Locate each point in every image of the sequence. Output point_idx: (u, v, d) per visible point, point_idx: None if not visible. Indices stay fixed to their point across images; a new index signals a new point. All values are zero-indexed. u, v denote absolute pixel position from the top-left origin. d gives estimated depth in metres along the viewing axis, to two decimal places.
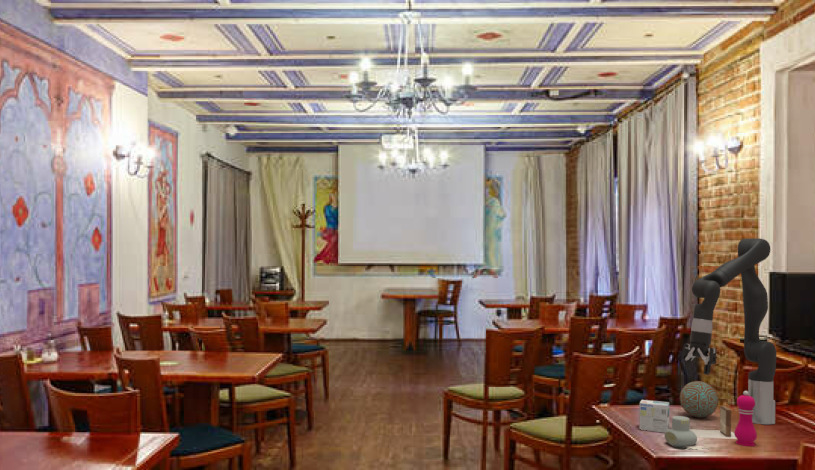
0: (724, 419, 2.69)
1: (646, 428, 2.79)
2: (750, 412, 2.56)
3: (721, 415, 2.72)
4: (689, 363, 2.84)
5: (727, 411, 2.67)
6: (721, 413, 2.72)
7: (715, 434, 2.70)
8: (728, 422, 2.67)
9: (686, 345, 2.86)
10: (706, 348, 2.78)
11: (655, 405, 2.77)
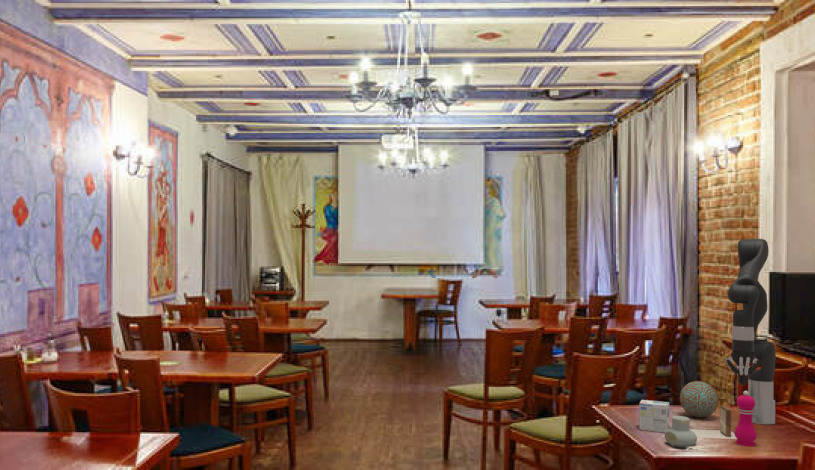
0: (724, 419, 2.69)
1: (646, 428, 2.79)
2: (750, 412, 2.56)
3: (721, 415, 2.72)
4: None
5: (727, 411, 2.67)
6: (721, 413, 2.72)
7: (715, 434, 2.70)
8: (728, 422, 2.67)
9: (729, 360, 2.70)
10: (754, 357, 2.69)
11: (655, 405, 2.77)
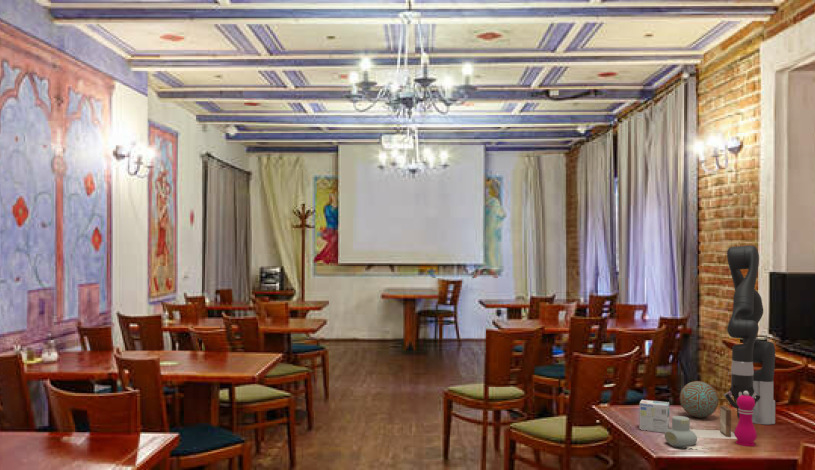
0: (724, 419, 2.69)
1: (646, 428, 2.79)
2: (750, 412, 2.56)
3: (721, 415, 2.72)
4: None
5: (727, 411, 2.67)
6: (721, 413, 2.72)
7: (715, 434, 2.70)
8: (728, 422, 2.67)
9: (728, 395, 2.69)
10: (753, 392, 2.69)
11: (655, 405, 2.77)
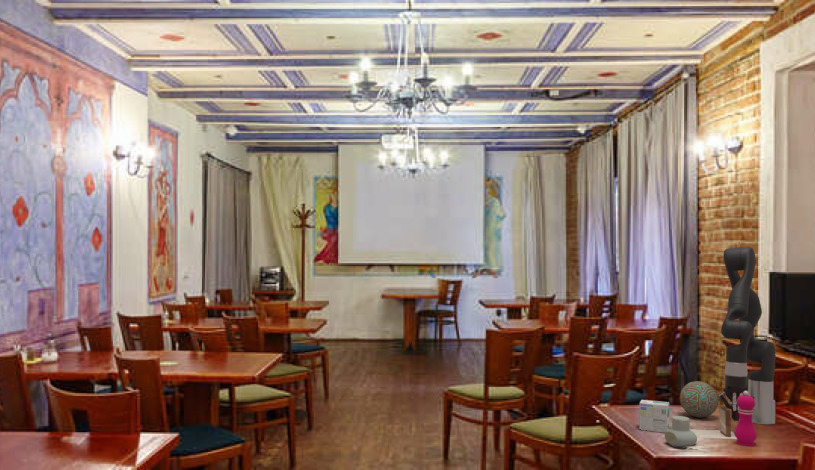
0: (723, 420, 2.69)
1: (646, 428, 2.79)
2: (750, 412, 2.56)
3: (721, 415, 2.72)
4: None
5: (726, 411, 2.67)
6: (721, 413, 2.72)
7: (715, 434, 2.70)
8: (728, 422, 2.67)
9: (722, 396, 2.69)
10: None
11: (655, 405, 2.77)
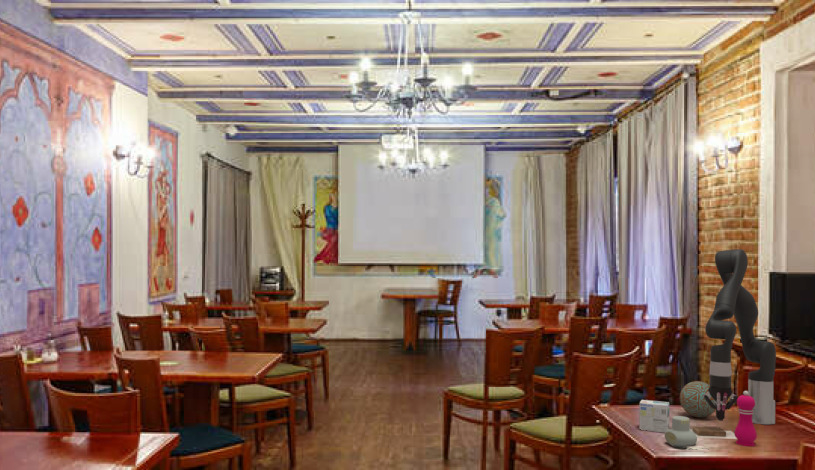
0: None
1: (646, 428, 2.79)
2: (750, 412, 2.56)
3: None
4: None
5: (699, 434, 2.68)
6: None
7: None
8: (710, 433, 2.67)
9: (706, 395, 2.70)
10: (731, 393, 2.69)
11: (655, 405, 2.77)
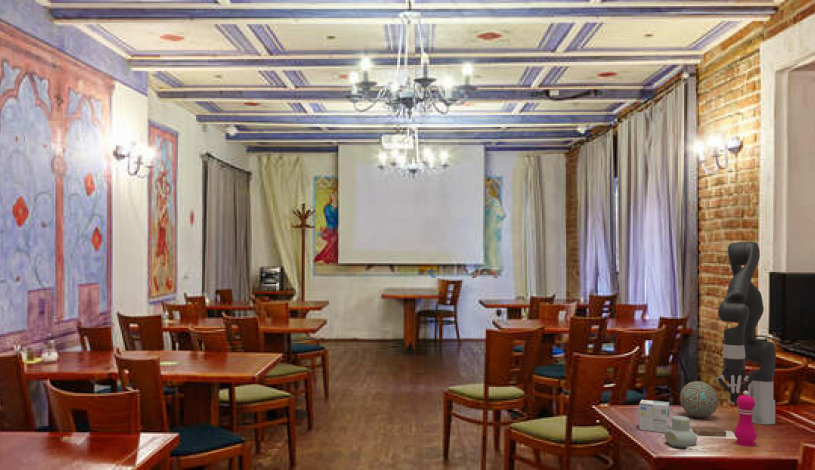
0: None
1: (646, 428, 2.79)
2: (750, 412, 2.56)
3: None
4: None
5: (699, 434, 2.68)
6: None
7: None
8: (710, 433, 2.67)
9: (720, 378, 2.71)
10: (745, 375, 2.70)
11: (655, 405, 2.77)
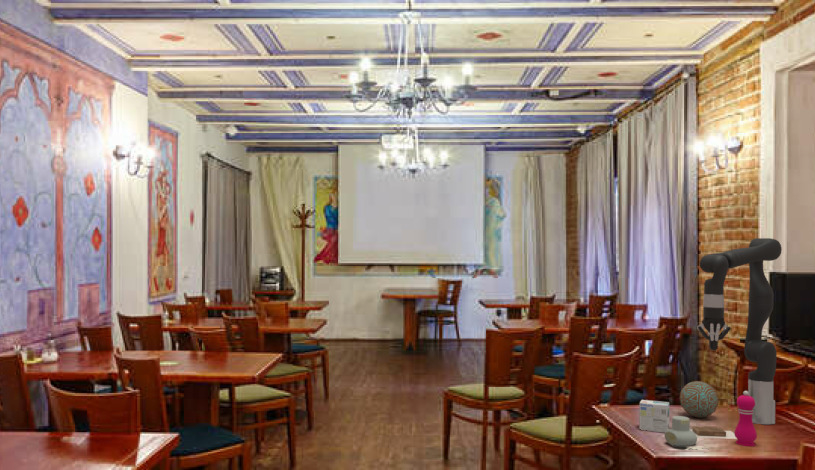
0: None
1: (646, 428, 2.79)
2: (750, 412, 2.56)
3: None
4: None
5: (699, 434, 2.68)
6: None
7: None
8: (710, 433, 2.67)
9: (700, 326, 2.82)
10: (724, 324, 2.81)
11: (655, 405, 2.77)
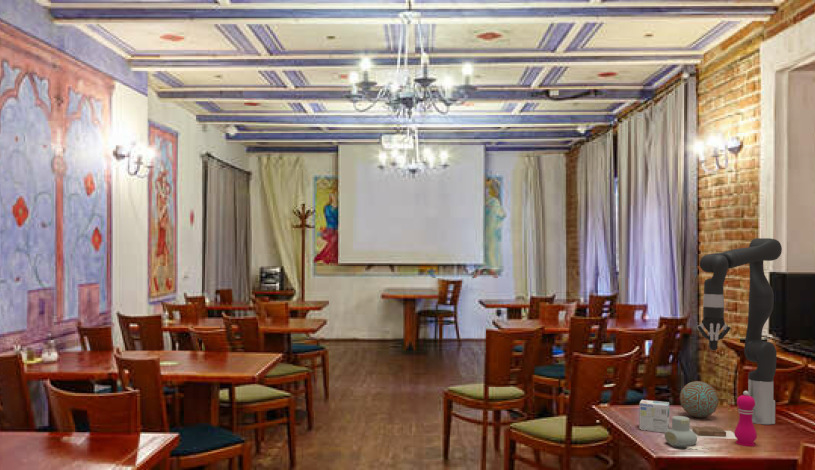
0: None
1: (646, 428, 2.79)
2: (750, 412, 2.56)
3: None
4: None
5: (699, 434, 2.68)
6: None
7: None
8: (710, 433, 2.67)
9: (700, 326, 2.82)
10: (724, 324, 2.82)
11: (655, 405, 2.77)
